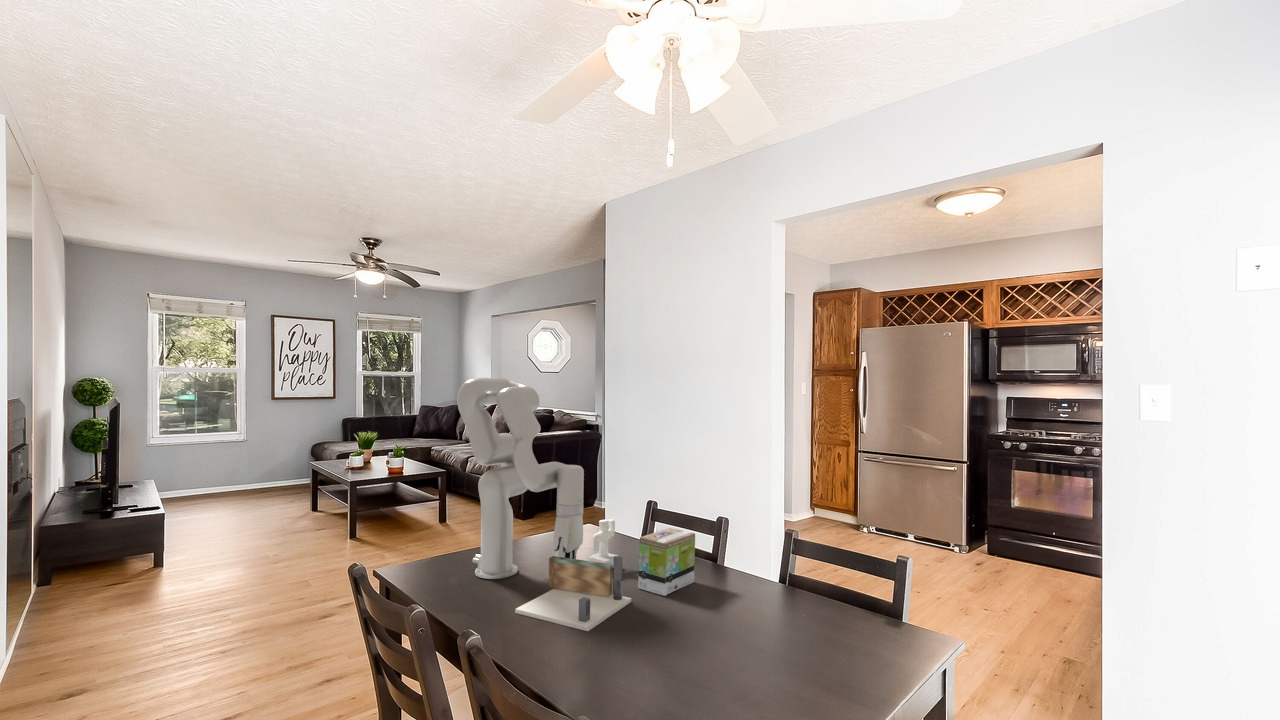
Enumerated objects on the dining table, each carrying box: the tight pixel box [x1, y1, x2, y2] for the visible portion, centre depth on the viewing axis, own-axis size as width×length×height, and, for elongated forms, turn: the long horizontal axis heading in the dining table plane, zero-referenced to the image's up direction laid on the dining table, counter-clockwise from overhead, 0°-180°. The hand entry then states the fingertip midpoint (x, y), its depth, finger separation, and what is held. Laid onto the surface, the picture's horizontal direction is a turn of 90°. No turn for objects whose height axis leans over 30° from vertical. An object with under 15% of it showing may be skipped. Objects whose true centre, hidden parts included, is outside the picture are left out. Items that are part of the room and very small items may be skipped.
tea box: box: [637, 527, 696, 597], centre depth 172 cm, size 15×10×15 cm, turn 143°
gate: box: [548, 555, 613, 596], centre depth 163 cm, size 18×2×8 cm, turn 69°
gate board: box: [514, 588, 632, 632], centre depth 155 cm, size 22×21×1 cm
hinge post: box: [579, 555, 623, 622], centre depth 152 cm, size 2×18×12 cm, turn 152°
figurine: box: [587, 519, 620, 564], centre depth 187 cm, size 7×9×15 cm
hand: (568, 574), depth 169 cm, fingers closed
